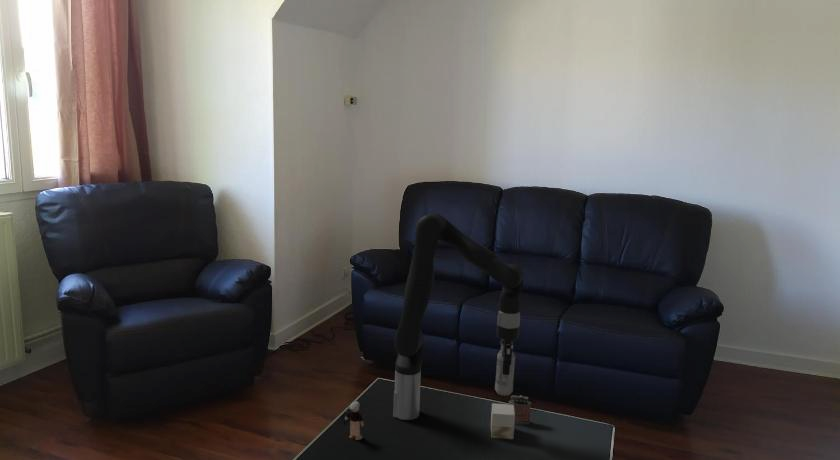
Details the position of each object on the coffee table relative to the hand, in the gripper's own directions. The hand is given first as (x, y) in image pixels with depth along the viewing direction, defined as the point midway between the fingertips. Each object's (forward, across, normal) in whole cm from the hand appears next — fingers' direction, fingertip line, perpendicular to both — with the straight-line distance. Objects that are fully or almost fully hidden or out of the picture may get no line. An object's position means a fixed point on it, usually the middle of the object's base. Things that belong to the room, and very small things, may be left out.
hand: (505, 370), depth 206 cm
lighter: (+23, -9, +7) cm, 26 cm away
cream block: (+19, 0, 0) cm, 19 cm away
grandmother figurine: (+23, +10, -50) cm, 56 cm away
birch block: (+23, 0, 0) cm, 23 cm away
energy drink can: (+8, 0, 0) cm, 8 cm away
